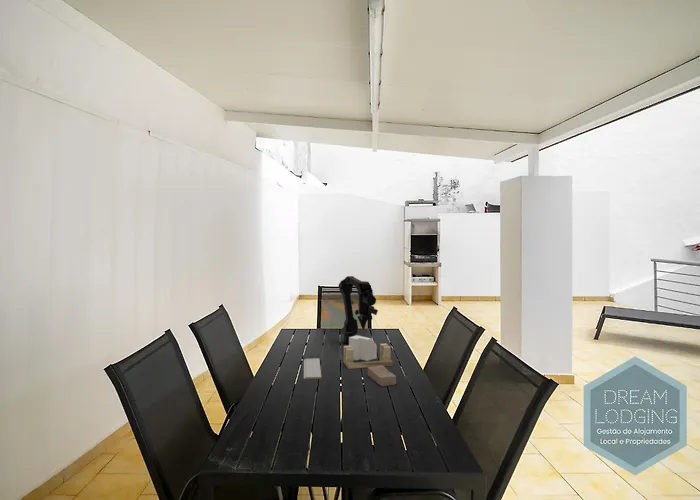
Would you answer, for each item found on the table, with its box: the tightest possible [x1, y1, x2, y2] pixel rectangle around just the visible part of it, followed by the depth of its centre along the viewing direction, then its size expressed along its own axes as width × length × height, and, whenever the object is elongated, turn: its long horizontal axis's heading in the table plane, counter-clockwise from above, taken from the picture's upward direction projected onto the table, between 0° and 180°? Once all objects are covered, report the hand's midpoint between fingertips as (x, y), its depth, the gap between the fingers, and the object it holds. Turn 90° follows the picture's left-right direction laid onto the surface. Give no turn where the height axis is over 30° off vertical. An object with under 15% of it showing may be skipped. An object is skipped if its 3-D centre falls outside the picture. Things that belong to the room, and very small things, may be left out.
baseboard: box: [303, 357, 322, 380], centre depth 221 cm, size 30×3×10 cm
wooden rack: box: [343, 343, 394, 370], centre depth 229 cm, size 12×24×9 cm, turn 103°
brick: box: [367, 365, 397, 387], centre depth 206 cm, size 17×8×5 cm, turn 21°
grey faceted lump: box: [348, 334, 378, 362], centre depth 240 cm, size 11×11×12 cm
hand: (363, 329), depth 255 cm, fingers closed
